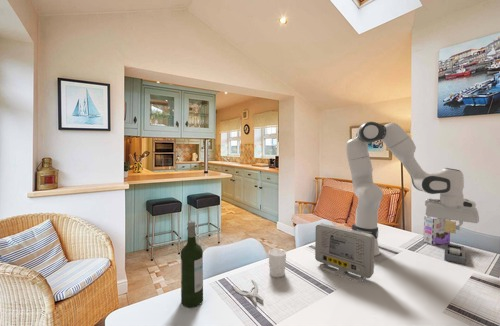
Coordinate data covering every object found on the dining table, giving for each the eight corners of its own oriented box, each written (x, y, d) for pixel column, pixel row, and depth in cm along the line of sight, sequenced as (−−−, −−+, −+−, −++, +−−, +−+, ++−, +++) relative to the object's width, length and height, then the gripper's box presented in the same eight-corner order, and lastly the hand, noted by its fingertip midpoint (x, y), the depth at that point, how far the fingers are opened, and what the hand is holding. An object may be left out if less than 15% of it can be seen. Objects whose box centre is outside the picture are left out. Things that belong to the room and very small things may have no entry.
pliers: (253, 277, 101) (271, 297, 88) (253, 281, 101) (271, 301, 88) (231, 283, 97) (247, 304, 83) (231, 287, 97) (247, 309, 83)
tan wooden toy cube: (444, 231, 117) (445, 221, 117) (445, 229, 120) (445, 220, 120) (455, 233, 114) (455, 223, 114) (455, 231, 117) (455, 221, 117)
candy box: (432, 245, 139) (433, 218, 138) (422, 241, 145) (423, 215, 144) (450, 243, 142) (451, 216, 142) (440, 239, 148) (441, 214, 147)
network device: (375, 278, 103) (376, 233, 102) (368, 286, 97) (370, 238, 96) (320, 259, 121) (321, 221, 120) (312, 265, 114) (312, 225, 113)
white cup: (287, 271, 109) (288, 250, 108) (282, 280, 102) (283, 257, 101) (271, 268, 112) (271, 247, 112) (265, 275, 105) (266, 254, 105)
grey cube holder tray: (444, 260, 121) (444, 254, 120) (444, 247, 136) (445, 242, 136) (465, 264, 115) (465, 258, 115) (463, 251, 131) (463, 246, 131)
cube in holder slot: (449, 259, 122) (449, 249, 121) (449, 256, 125) (449, 247, 124) (459, 261, 119) (460, 251, 119) (459, 258, 122) (459, 249, 122)
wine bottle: (186, 294, 92) (185, 218, 90) (205, 295, 91) (205, 218, 89) (177, 307, 84) (176, 224, 82) (199, 309, 83) (198, 225, 81)
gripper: (424, 199, 121) (423, 225, 122) (480, 204, 107) (478, 234, 108) (425, 197, 126) (425, 222, 126) (479, 202, 112) (477, 231, 113)
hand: (450, 228), depth 117 cm, fingers closed on tan wooden toy cube, 4 cm apart
